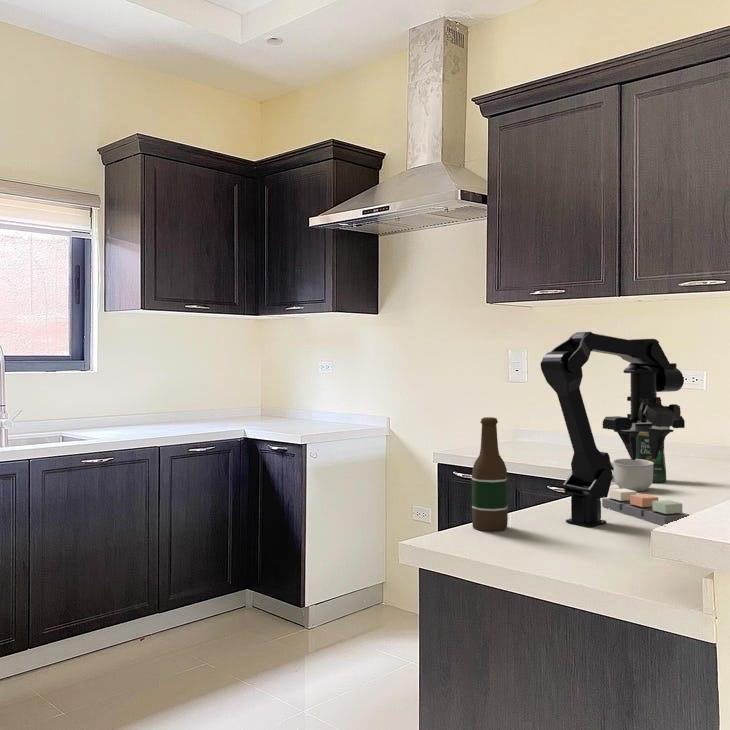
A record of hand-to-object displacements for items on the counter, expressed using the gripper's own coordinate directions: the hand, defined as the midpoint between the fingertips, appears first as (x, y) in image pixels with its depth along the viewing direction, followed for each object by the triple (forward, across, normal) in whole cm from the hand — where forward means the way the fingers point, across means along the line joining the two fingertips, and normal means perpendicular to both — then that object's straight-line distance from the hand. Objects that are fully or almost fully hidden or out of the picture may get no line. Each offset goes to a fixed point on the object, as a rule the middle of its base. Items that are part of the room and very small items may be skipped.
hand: (643, 459), depth 173 cm
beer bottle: (+13, -40, -1) cm, 42 cm away
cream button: (+11, 0, +8) cm, 13 cm away
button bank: (+13, 0, 0) cm, 13 cm away
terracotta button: (+11, 0, 0) cm, 11 cm away
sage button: (+11, 0, -8) cm, 13 cm away
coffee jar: (+13, +32, +40) cm, 53 cm away
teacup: (+13, +18, +31) cm, 38 cm away
